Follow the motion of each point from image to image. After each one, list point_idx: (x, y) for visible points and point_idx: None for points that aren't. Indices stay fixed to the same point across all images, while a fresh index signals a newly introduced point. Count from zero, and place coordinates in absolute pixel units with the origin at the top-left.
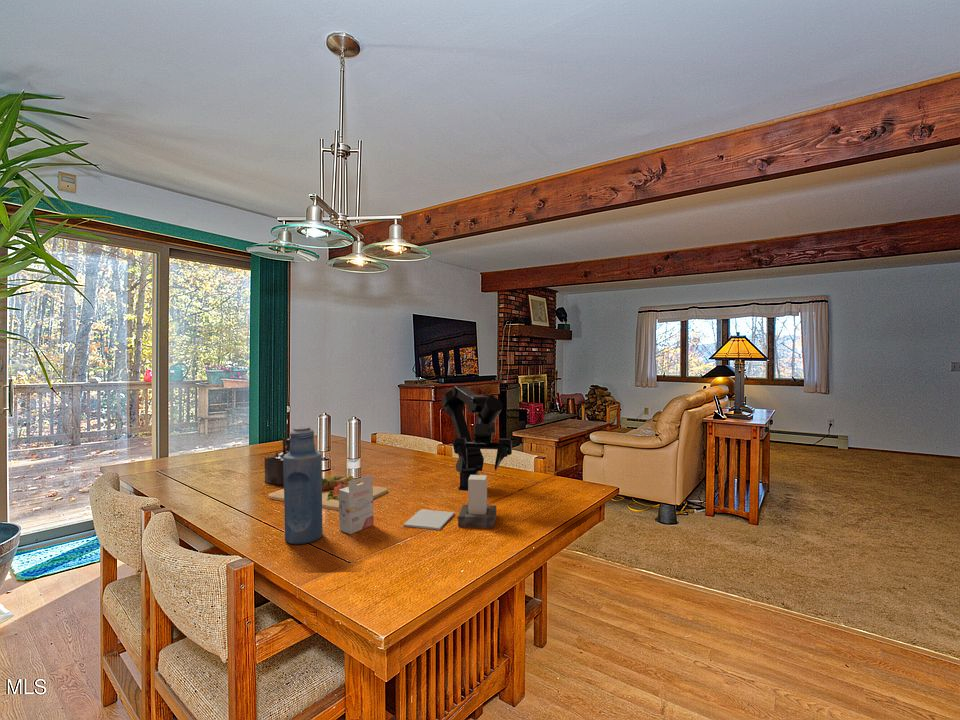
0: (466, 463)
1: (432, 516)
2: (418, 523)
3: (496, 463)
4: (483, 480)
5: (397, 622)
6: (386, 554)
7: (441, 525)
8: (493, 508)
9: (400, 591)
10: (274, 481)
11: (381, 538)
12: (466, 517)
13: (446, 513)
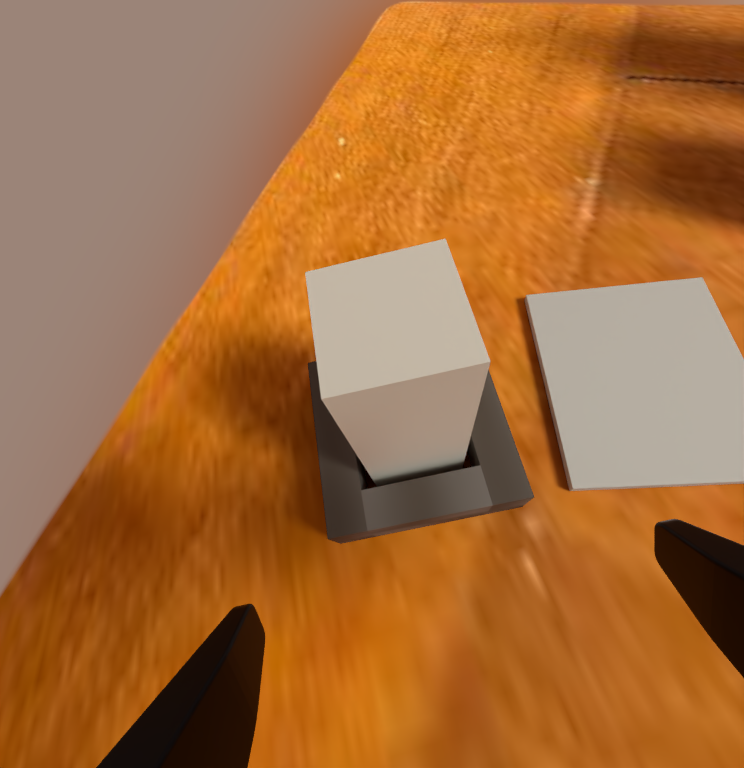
0: (721, 558)
1: (646, 394)
2: (645, 304)
3: (195, 670)
4: (321, 271)
5: (389, 19)
6: (572, 128)
7: (534, 318)
8: (334, 483)
9: (431, 58)
10: None
11: (679, 185)
12: None
13: (604, 456)
